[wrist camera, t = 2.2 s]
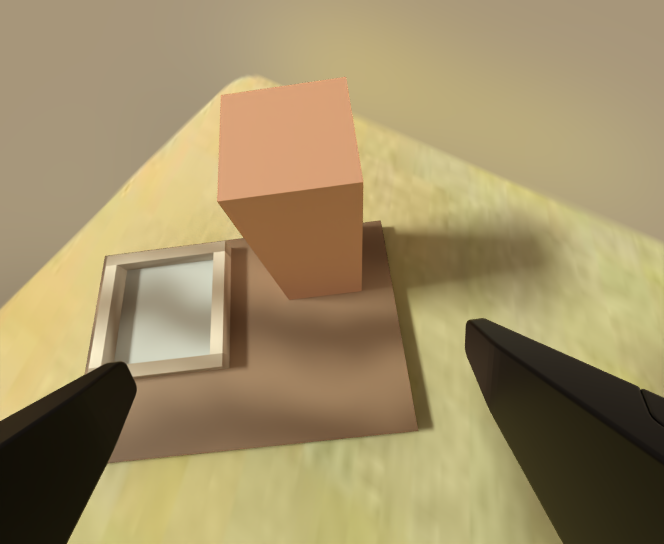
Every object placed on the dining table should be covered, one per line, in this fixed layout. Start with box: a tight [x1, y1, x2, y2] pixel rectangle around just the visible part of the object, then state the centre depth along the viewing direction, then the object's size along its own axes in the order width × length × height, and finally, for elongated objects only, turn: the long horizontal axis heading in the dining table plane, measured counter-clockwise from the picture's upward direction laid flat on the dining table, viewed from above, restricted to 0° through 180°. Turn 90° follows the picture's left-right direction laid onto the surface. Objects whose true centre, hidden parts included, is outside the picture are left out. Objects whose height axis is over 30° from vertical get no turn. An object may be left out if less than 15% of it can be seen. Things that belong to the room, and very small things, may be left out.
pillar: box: [217, 77, 363, 300], centre depth 17 cm, size 5×5×12 cm
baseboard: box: [85, 221, 418, 463], centre depth 22 cm, size 14×21×2 cm, turn 96°
